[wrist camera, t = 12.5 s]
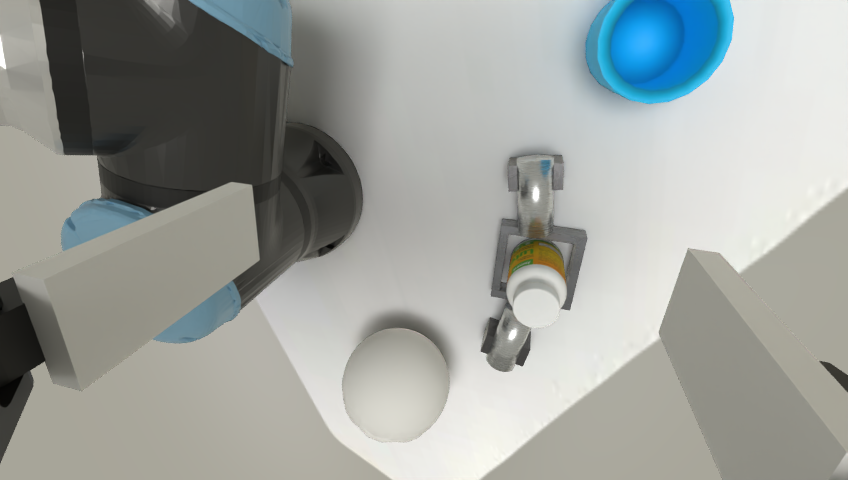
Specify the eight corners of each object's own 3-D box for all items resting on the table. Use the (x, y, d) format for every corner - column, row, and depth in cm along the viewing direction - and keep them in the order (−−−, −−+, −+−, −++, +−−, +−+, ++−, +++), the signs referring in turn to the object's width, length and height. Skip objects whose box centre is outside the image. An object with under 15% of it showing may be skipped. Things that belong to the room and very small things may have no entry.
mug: (696, 78, 36) (737, 84, 28) (593, 105, 38) (606, 117, 31) (683, -87, 32) (726, -129, 25) (569, -44, 35) (578, -70, 27)
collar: (492, 287, 48) (490, 296, 46) (502, 218, 44) (501, 225, 43) (568, 300, 46) (569, 310, 44) (585, 230, 43) (587, 238, 41)
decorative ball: (357, 367, 57) (316, 438, 47) (376, 294, 52) (334, 356, 41) (442, 400, 56) (419, 481, 45) (469, 329, 51) (451, 402, 40)
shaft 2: (560, 219, 43) (563, 237, 39) (511, 220, 44) (509, 238, 40) (561, 149, 40) (564, 160, 36) (509, 152, 42) (506, 163, 37)
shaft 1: (501, 288, 48) (497, 311, 43) (543, 302, 47) (543, 327, 43) (482, 336, 51) (477, 362, 46) (522, 350, 50) (520, 378, 46)
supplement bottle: (530, 227, 44) (529, 269, 35) (574, 256, 44) (583, 305, 35) (500, 264, 46) (491, 312, 38) (541, 291, 47) (542, 346, 38)
